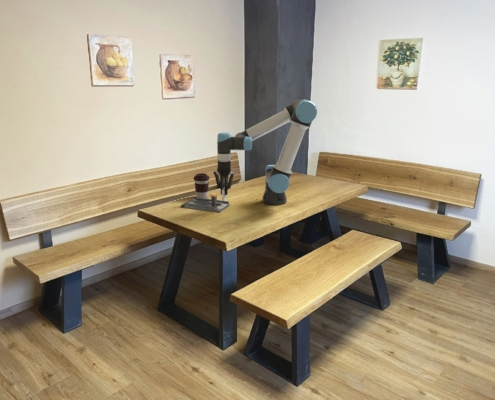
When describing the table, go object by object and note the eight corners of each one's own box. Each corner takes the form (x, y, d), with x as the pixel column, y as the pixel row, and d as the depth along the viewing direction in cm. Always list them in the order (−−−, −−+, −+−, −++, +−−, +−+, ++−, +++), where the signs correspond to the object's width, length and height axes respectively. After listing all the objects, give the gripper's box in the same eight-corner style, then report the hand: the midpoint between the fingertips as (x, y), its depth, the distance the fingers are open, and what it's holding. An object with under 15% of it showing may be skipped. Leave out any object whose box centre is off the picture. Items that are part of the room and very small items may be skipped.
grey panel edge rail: (195, 201, 259) (195, 198, 259) (183, 207, 247) (183, 205, 247) (193, 201, 260) (192, 198, 260) (181, 207, 248) (181, 204, 247)
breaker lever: (217, 204, 248) (217, 193, 246) (214, 206, 244) (214, 195, 242) (213, 204, 249) (213, 192, 247) (210, 206, 245) (210, 194, 243)
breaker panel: (229, 206, 250) (229, 202, 250) (220, 212, 239) (219, 208, 238) (191, 201, 260) (191, 197, 259) (180, 207, 248) (180, 203, 248)
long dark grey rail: (229, 203, 255) (229, 200, 255) (227, 204, 253) (227, 202, 252) (195, 199, 264) (195, 196, 263) (193, 200, 261) (192, 197, 261)
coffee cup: (207, 199, 262) (206, 176, 258) (192, 198, 264) (191, 175, 260) (211, 195, 272) (211, 173, 267) (197, 194, 274) (196, 172, 269)
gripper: (237, 160, 237) (236, 199, 244) (216, 158, 242) (216, 197, 249) (231, 162, 230) (231, 203, 237) (210, 160, 235) (211, 200, 242)
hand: (224, 200), depth 243 cm, fingers closed
